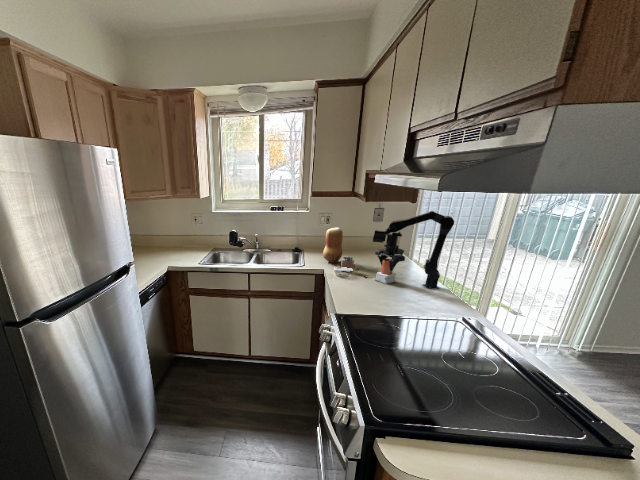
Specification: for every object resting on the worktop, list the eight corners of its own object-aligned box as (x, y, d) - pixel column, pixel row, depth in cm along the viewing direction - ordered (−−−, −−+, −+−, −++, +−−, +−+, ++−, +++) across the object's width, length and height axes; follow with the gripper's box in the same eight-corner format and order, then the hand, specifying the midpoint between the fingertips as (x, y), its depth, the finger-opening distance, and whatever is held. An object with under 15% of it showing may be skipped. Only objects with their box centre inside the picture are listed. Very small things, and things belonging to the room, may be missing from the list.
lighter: (352, 270, 213) (354, 256, 209) (353, 272, 210) (355, 257, 206) (340, 270, 215) (342, 255, 211) (340, 271, 212) (342, 256, 208)
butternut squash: (319, 260, 238) (322, 226, 229) (336, 259, 241) (339, 225, 231) (327, 265, 226) (331, 229, 216) (345, 264, 228) (349, 229, 218)
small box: (375, 280, 195) (376, 272, 193) (384, 278, 198) (386, 270, 196) (385, 284, 188) (386, 275, 186) (395, 282, 191) (396, 273, 189)
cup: (394, 274, 188) (396, 261, 185) (382, 274, 188) (385, 261, 185) (389, 271, 194) (392, 258, 191) (379, 271, 194) (381, 258, 191)
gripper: (415, 245, 178) (410, 272, 184) (391, 239, 195) (387, 263, 201) (399, 247, 175) (394, 274, 181) (376, 240, 192) (372, 265, 198)
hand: (387, 269), depth 190 cm, fingers open, 7 cm apart
